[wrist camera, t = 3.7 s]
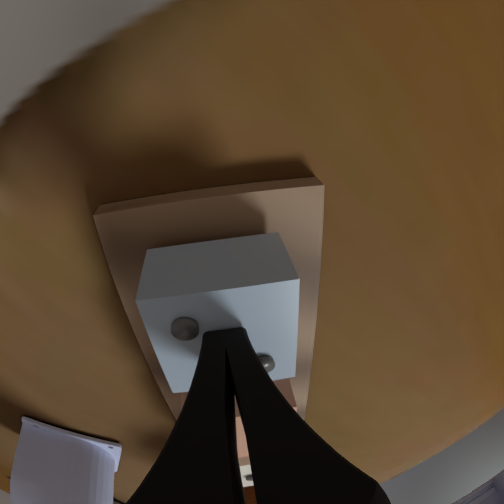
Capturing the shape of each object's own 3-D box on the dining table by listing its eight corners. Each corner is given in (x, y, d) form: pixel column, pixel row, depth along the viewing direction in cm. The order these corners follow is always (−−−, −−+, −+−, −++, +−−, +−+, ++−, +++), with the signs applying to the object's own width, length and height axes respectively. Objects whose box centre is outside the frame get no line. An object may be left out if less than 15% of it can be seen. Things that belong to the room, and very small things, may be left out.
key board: (299, 426, 24) (307, 458, 21) (193, 441, 23) (195, 474, 21) (315, 176, 13) (346, 208, 10) (99, 205, 12) (74, 244, 9)
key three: (280, 326, 15) (296, 380, 12) (174, 340, 14) (172, 397, 12) (278, 232, 12) (301, 282, 9) (146, 249, 12) (134, 305, 9)
